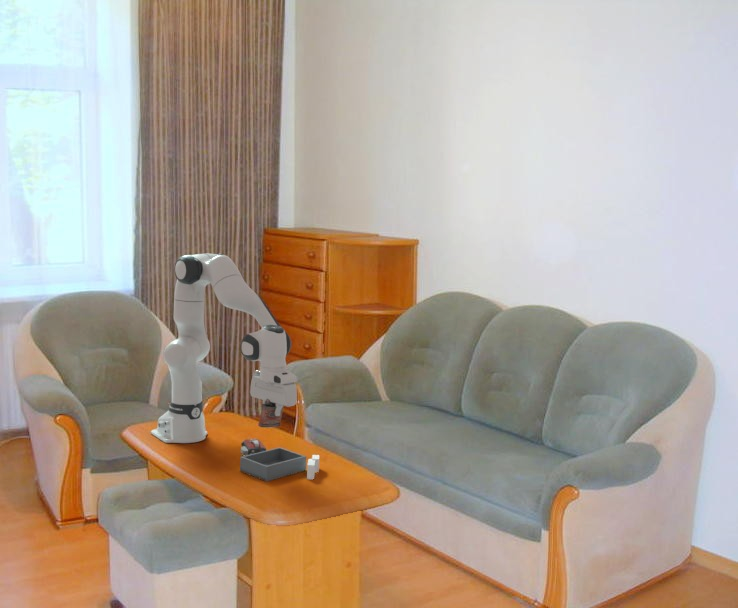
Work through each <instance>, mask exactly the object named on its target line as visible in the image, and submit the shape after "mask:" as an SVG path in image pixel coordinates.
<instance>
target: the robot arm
mask: <svg viewBox="0 0 738 608" xmlns="http://www.w3.org/2000/svg"><path fill="white" fill-rule="evenodd" d="M173 270H174V275H175V277H176V283H175V287H174V293H173V294H174V298H173V299H174V300H173V316H172V317H173V321H174V323H175V325H176V328H177V334H178V337H177V338H176V339H174V340H172V341H170V342H169V343H168V344H167V346H165V348H164V349H163V354H162V357H163V360H164V363H165V364H166V365H167V366H168V370H169V375H170V380H171V401H167V406H168V410H167V411H166V412H164V414H162V415H161V416H159V418H158V419H157V428H154V429H152V430H150V434H151V435H153V436H154V437H156V438H157V439H158V440H160V441H162V442H163V443H166V444H168V443H169V444H171V443H175V444H176V443H177V444H191V443H198V442H201V441H204V440H205V439H206V436H207V435H208V430H206V423H205V421H206V420H205V414H204V412H203V410H204V404H203V403H204V402H203V398H202V395H203V391H202V390H203V381H202V379H201V377H200V375H199V372H198V366H197V365H198V362H201V361H203V360H204V359H205V358H206V357H207V355H209V352H210V350H211V343H210V341H209V338H208V337H207V333H206V327H205V301H206V300H205V297H206V293H205V291H206V286H208V285H211V287H212V290H213V292H214V295H215V297H216V298H217V300H218V302H219V304H221V305H222V306H224V307H225V308H227V309H232V310H235V311H240V312H243V313H246V314H249V315H250V316H252V317H253V318H254V319H255V321H257V323H258V325H259V326H260V328H261V329H259V330H257V331H254V332H250V333H247V334H246V333H245V335H244V336H243V337H242V339H241V340H240V341H241V342H240V352H241V355H242V356H243V357H244V359H245V360H247V361H251V362H257V361H259V363H260V364H259V370H258V369H256V370H255V371H254V372H253V373H252V377H251V379H250V380H251V382H250V387H249V388H250V390H249V394H250V396H251V397H252V398H256V399H259V400H262V404H266V399H268V400H270V402H273V403H276V407H277V408H276V410H274V416H280V411H281V409H282V407H283V406H284V407H293V406H295V405H296V404H297V402H298V389H297V388H298V387H297V385H296V382H297V381H298V376H297V375H295V374H294V373H293V372H291V371H290V370H289V369H288V368H287V360H286V357H287V356H288V355H289V353H290V352H291V350H292V344H293V343H292V339H291V337H290V335H289V334H288V332H287V331H286V330H285V329H284V327H282V325H280V323H279V322H278V321H277V319H276V317H275V316H274V314H273V313H272V311H271V309H270V308H269V306H268V305H267V304H266V302H265V301H264V299H263V298H262V297H261V296H260V295H259V294H258V293H256V292H255V291H254V290H253V289H252V288H250V286H249V285H248V284H247V282H246V281H245V279H244V278H243V275H242V274H241V272H240V270H239V268H238V267H237V265H236V263H235V262H234V260H233V259H231V257H229V256H228V255H226V254H223V253H206V252H205V253H204V252H203V253H197V254H185V255H182V256H180V257H178V258H177V259H176V261H175V264H174V269H173Z"/></svg>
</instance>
